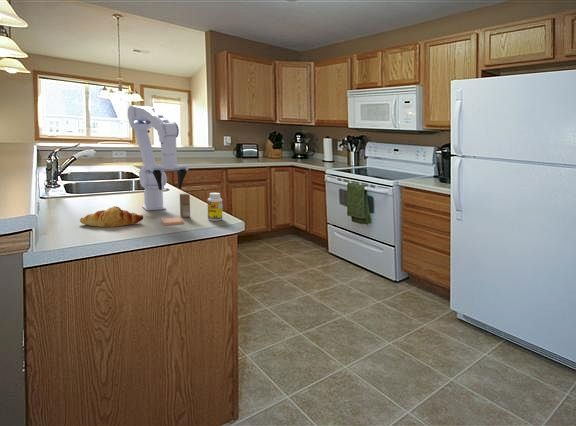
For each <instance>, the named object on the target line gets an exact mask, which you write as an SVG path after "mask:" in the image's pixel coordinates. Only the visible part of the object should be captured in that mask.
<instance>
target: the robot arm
mask: <svg viewBox="0 0 576 426" xmlns="http://www.w3.org/2000/svg"><path fill="white" fill-rule="evenodd" d="M127 119H128V122H129V126H130V128H132V129H133V130H134V133H135V137H136V141H137V145H138V147H139V152H140V156H141V160H142V164H143V167H141V169H140V170H139V172H138V177H139V183H140V186H141V187H142V188H143V189H144V190H143V191H144V192H143V199H144V204H143V205H142V207H141V208H143V209H144V210H146V211H158V210H167V208H166V207H165V206H164V193H163V189H164V188H165V186H166V184H167V183H168V178H167V175H166V173H165V172H166V171H167V172H169V171H172V172H173V171H176V173H177V187H178V189H179V190H182V187H183V182H184V179H185V178H186V175H187V171H189V164H178V162H177V161H178V160H177V157H178V156H177V152H178V151H177V138H178V136H179V133H180V132H179V131H180V128H179V125H178V124H177V122H175V121H173V122H170V121H169V119H167V118H165V117H164V115H163V114H157V113H156V111H155V108H154V107H153V106H152V105H151V106H146V105H133V104H130V105H129V106H128V108H127ZM151 128H153V129H154V130H155V131H157V135H158V140H159V143H160V155H161V157H160V158H161V165H159V164H157V162H156V160H155V159H156V158H155V154H154V151H153V148H152V144H151V141H150V137H149V133H148V132H149V131H148V130H149V129H151Z"/></svg>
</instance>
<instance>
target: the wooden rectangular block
mask: <svg viewBox="0 0 576 426" xmlns="http://www.w3.org/2000/svg"><path fill="white" fill-rule="evenodd" d="M190 197H191V195H190V194H189V193H179V211H180V212H179V215H180V217H179V218H181V219H186V218H187V219H188V217H189V218H191V202H190V201H191V198H190Z"/></svg>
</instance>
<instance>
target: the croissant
mask: <svg viewBox="0 0 576 426" xmlns="http://www.w3.org/2000/svg"><path fill="white" fill-rule="evenodd" d="M143 219H144V215H143V214H138V213H135V212H132V213H131V212H130V211H129V210H126V209H125V210H124V209H121V207H119V206H116V205H114V206H112V207H109V208H107V209H106V210H104V209H103V210H98V211H96V212H94V213H90V214H87V215H85V216H84V217H80V218H79V222H80V223H81V224H82V225H84V226H92V227H98V228H115V227H117V226H118V227H122V226H130V225H136V224H138V223H140V222H141V221H143Z"/></svg>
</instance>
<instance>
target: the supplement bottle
mask: <svg viewBox="0 0 576 426" xmlns="http://www.w3.org/2000/svg"><path fill="white" fill-rule="evenodd" d="M222 219H223V198H221V193H220V192H210V193H209V197H208V198H207V220H208V221H212V222H214V221H215V222H216V221H217V222H219V221H222Z"/></svg>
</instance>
